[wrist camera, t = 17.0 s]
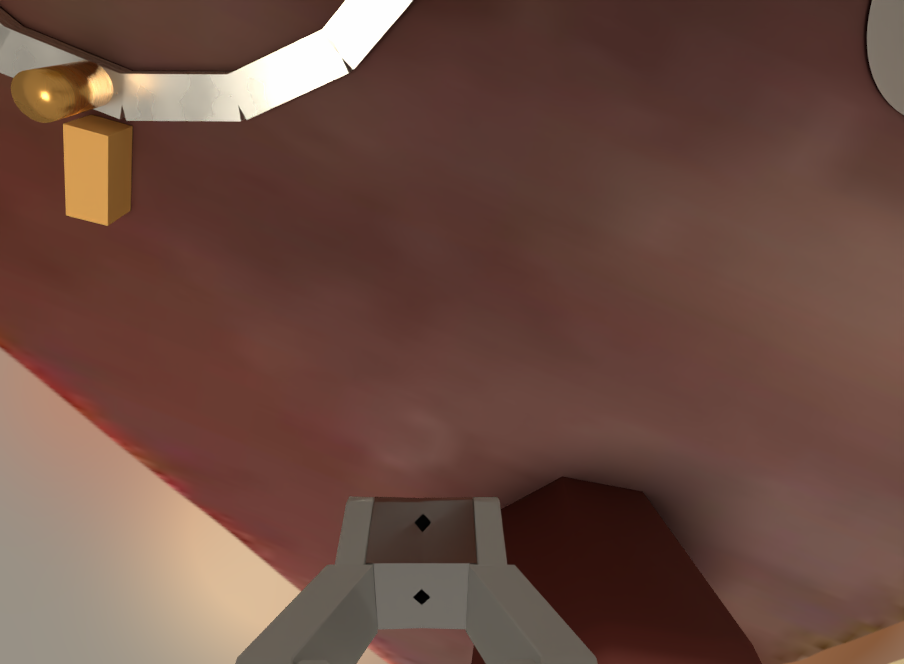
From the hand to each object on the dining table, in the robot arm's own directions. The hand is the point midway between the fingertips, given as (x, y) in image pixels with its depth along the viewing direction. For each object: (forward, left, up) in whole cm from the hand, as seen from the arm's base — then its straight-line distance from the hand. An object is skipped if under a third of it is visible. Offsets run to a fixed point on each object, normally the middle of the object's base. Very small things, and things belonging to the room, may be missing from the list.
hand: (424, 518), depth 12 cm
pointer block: (+17, -10, -29) cm, 35 cm away
